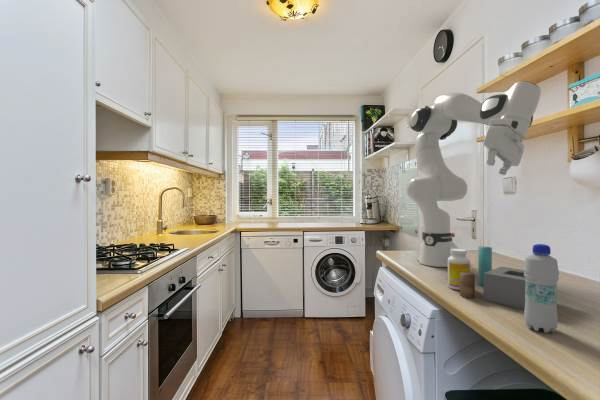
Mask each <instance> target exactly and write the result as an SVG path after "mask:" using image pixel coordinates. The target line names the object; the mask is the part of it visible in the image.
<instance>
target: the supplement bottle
mask: <svg viewBox="0 0 600 400" xmlns="http://www.w3.org/2000/svg"><path fill="white" fill-rule="evenodd" d="M451 254H452V256H451V257H449V258H448V267H447V287H448V288H450V289H451V290H455V291H460V273H461V272H469V273H471V272H470V271H471V269H470V263H471V262H470V259H469V258H468V257H466V256H467V250H466V249H464V248H459V249H451Z"/></svg>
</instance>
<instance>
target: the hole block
mask: <svg viewBox="0 0 600 400" xmlns="http://www.w3.org/2000/svg"><path fill="white" fill-rule="evenodd" d="M525 280H526V278H525V276H524V270H523V269H518V268H514V267H508V266H507V267H506V266H499V267H497V268H494V269H493V268H492V270H491V271H488V272H485V273H484V286H483V298H482V300H483V301H488V302H492V303H496V304H501V305H505V306H509V307H513V308H515V309H516V308H517V309H521V310H525Z"/></svg>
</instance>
